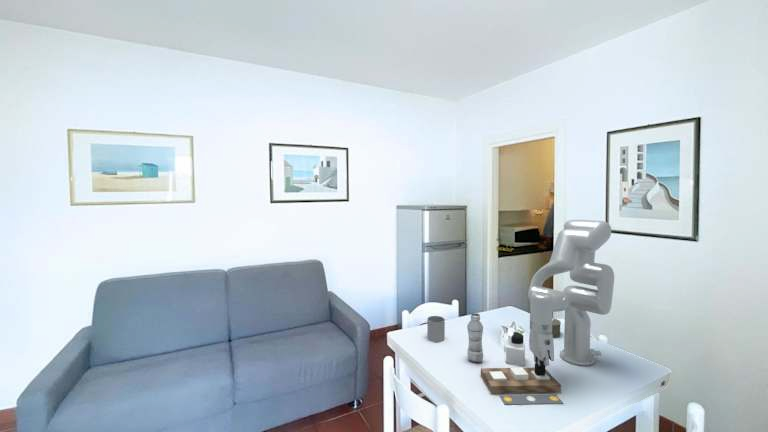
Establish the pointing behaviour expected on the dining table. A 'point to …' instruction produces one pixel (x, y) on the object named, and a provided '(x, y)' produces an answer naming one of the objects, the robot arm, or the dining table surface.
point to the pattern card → (530, 399)
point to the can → (556, 328)
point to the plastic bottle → (475, 338)
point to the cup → (436, 329)
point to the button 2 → (540, 376)
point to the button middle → (518, 374)
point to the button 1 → (497, 376)
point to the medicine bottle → (515, 349)
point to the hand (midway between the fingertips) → (539, 374)
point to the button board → (519, 383)
